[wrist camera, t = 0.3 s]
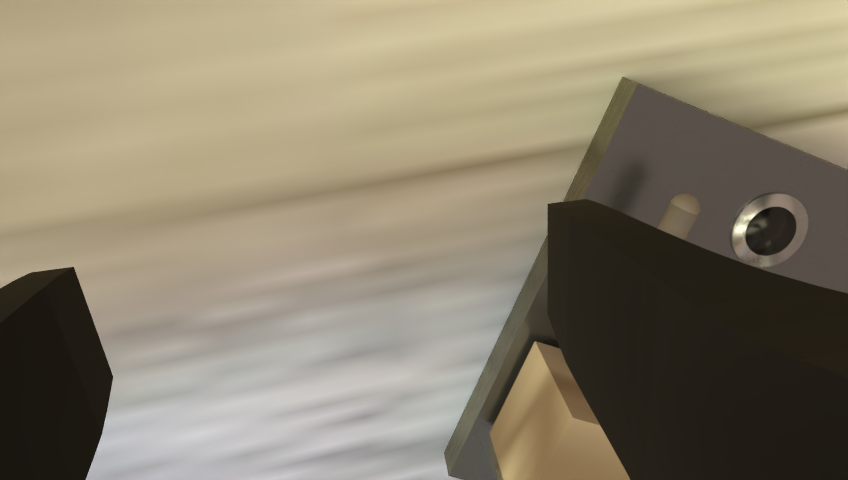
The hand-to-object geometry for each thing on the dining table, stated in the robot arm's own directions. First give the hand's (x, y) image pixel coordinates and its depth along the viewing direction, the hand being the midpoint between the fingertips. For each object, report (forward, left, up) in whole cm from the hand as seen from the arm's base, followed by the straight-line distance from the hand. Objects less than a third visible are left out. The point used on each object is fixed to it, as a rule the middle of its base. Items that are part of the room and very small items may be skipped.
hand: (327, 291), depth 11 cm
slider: (-2, -9, -9) cm, 13 cm away
